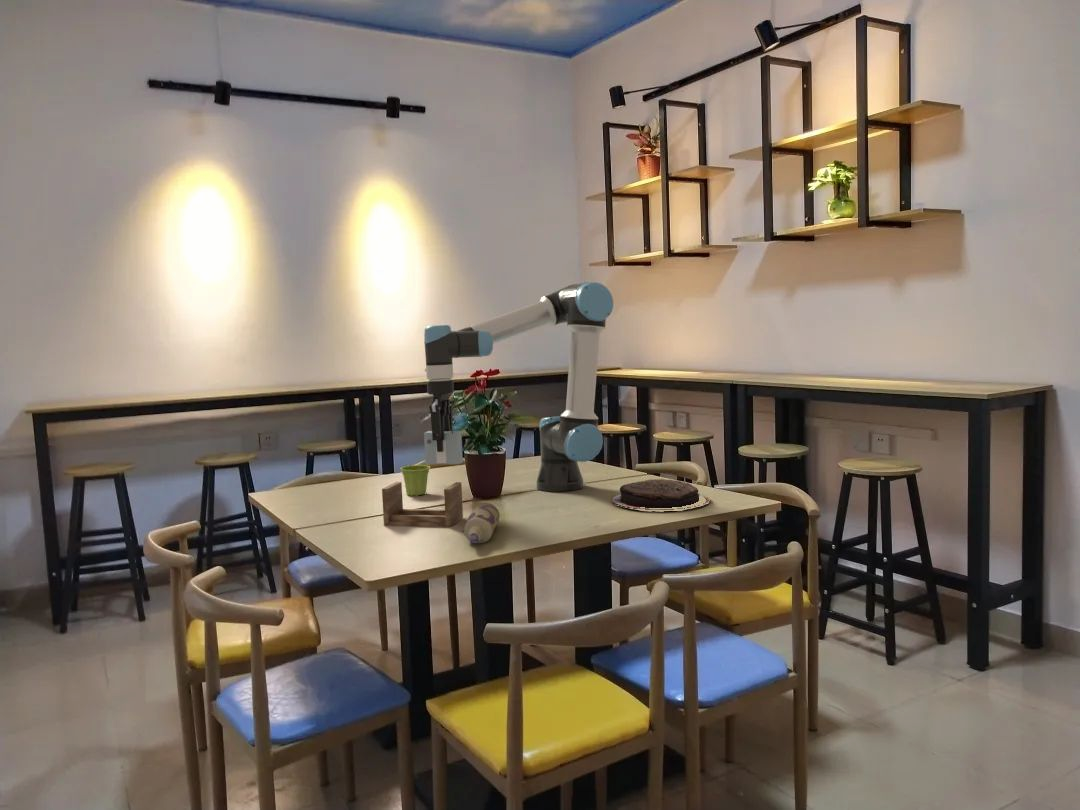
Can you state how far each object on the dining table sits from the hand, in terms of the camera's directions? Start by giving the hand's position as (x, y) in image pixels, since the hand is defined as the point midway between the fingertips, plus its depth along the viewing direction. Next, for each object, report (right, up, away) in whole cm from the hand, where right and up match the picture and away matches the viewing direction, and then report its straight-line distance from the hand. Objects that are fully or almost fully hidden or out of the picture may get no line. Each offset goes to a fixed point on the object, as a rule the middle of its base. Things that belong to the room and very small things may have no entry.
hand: (444, 461), depth 240 cm
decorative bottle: (+12, -17, -31) cm, 38 cm away
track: (-4, -16, -12) cm, 20 cm away
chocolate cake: (+62, -13, +2) cm, 63 cm away
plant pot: (-12, -13, +28) cm, 33 cm away
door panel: (0, 0, 0) cm, 1 cm away
